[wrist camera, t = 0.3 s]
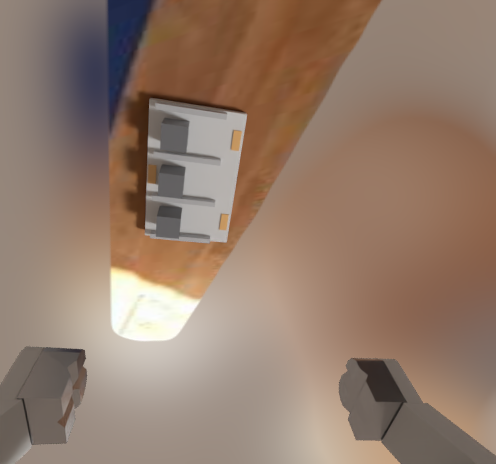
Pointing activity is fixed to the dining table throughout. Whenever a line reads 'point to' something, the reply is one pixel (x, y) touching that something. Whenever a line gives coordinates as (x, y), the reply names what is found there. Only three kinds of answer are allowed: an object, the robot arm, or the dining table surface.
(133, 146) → the dining table surface
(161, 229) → the grey cube
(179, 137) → the gray cube
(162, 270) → the dining table surface
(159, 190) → the grey cubic block
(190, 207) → the switch board
